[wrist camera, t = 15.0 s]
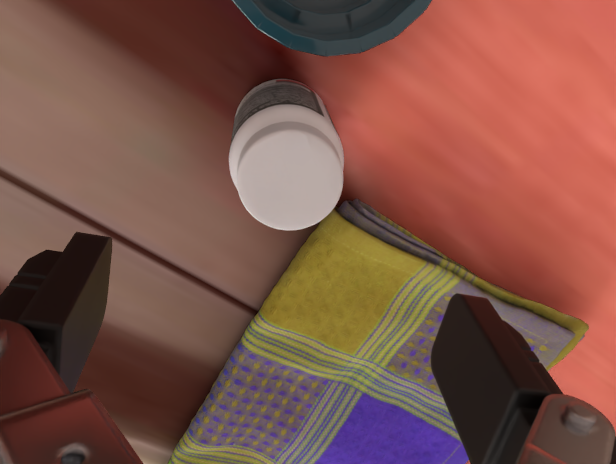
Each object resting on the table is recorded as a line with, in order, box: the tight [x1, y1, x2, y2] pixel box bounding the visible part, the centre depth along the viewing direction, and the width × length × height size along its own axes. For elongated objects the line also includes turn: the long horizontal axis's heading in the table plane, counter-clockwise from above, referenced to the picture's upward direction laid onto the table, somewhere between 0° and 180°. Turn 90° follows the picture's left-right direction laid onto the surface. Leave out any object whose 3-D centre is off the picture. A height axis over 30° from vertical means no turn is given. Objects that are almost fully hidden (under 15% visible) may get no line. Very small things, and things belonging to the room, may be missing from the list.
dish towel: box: [168, 199, 589, 464], centre depth 36 cm, size 18×24×3 cm
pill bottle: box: [229, 79, 344, 230], centre depth 26 cm, size 5×5×8 cm
